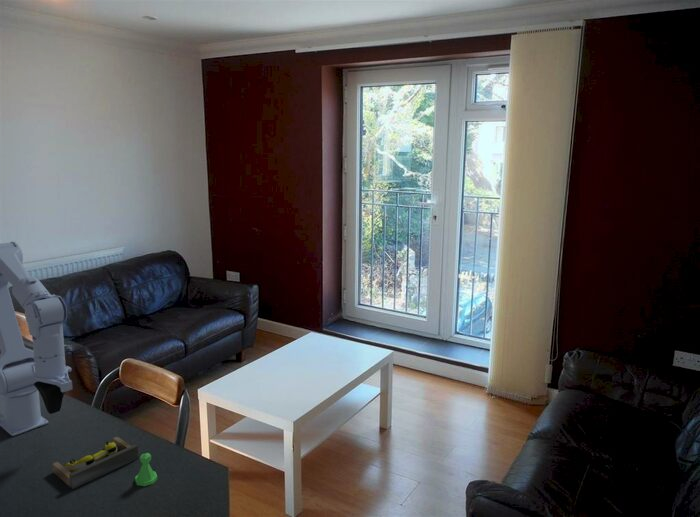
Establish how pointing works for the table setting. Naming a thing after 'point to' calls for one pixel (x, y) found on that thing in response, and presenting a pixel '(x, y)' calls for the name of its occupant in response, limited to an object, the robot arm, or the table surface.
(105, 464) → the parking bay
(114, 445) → the yellow plastic handheld tool
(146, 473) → the game piece
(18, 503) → the table surface
